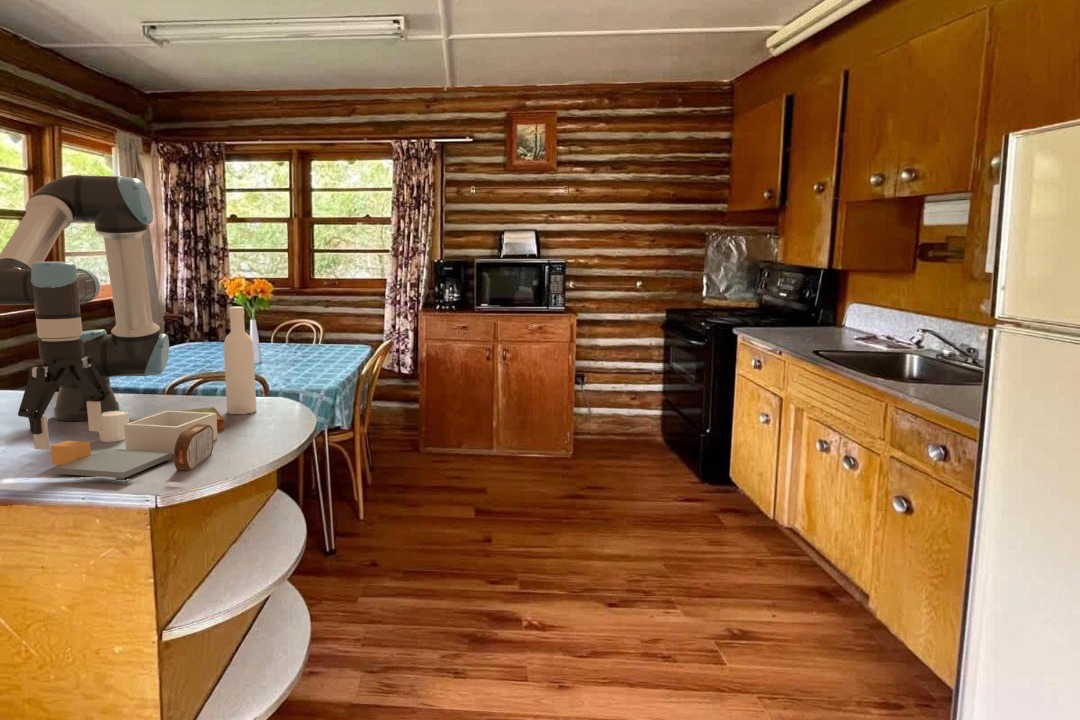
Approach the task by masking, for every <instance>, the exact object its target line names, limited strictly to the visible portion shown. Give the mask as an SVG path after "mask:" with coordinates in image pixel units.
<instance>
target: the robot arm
mask: <svg viewBox="0 0 1080 720" xmlns="http://www.w3.org/2000/svg"><path fill="white" fill-rule="evenodd" d="M153 221H154V208H153V202H152V198H151V196H150V193H149V190H148V189H147V187H146V185H145V184H144V182H142V181H141V179H138V178H135V177H127V176H122V175H121V176H120V175H119V176H118V175H117V176H115V175H112V176H111V175H81V174H72V175H71V174H70V175H66V176H65V175H64V176H62V177H58V178H55V179H53V180H52V181H50V182H48V183H45V184H44V185H42V186H41V187H40V188H38V189H36V190H35V192H34V193H33V194H31V196H30V197H29V199H28V200H27V202H26V203H25V215H24V216H23V217H22V219H21V221H20V222H19V224H18V226H17V227H16V229H15V230H14V231H13V233H12V234H11V236H10V238H9V240H8V241H7V242H6V243H5V245H4V247H3V248H2V250H1V252H0V306H22V305H23V306H28V305H31V306H32V305H33V306H34V313H35V315H34V317H35V322H36V323H35V324H36V333H37V337H38V338H39V339H40V340H39V341H37V343H38V344H37V345H38V354H39V358H40V359H42V361H43V365H42V366H30V367H29V368H28V380H27V382H26V386H25V390H24V393H23V396H22V399H21V402H20V405H19V409H18V412H17V415H18V417H23V418H28V421H29V427H30V429H29V430H30V434H31V435H32V436H33V437H32V438H33V445H34V446H33V447H34V450H44V451H47V450H51V445H50V438H49V437H50V436H49V426H48V417H47V416H44V414H45V412H46V410H47V408H48V406H49V404H50V403H51V401H52V399H53V397H54V395H55V393H56V391H57V390H58V389H59V391H58V394H57V398H56V403H55V407H54V408H53V419H54V420H57V421H64V422H81V421H87V422H88V423H87V424H88V431H89V432H98V433H99V432H100V431H103V426H102V413H103V412H107V411H121V410H120V404H119V402H118V401H117V399H116V396H115V394H114V391H113V388H112V387H111V381H110V380H111V378H115V377H116V378H117V377H119V378H120V377H121V378H122V377H151V376H159V375H161V374H163V373H164V371H165V369H166V367H167V364H168V359H169V354H170V339H169V336H168V334H167V333H164V332H163V333H161V328H160V326H159V324H157V323H155V322H154V320H153V314H152V307H151V306H152V305H151V299H150V291H149V283H148V274H147V269H146V268H147V267H146V259H145V252H144V245H143V238H142V237H143V235H144V234H145V233H147V231H148V225H150V224H152V223H153ZM73 223H92V224H93V223H94V229H95V232H96V233H98V234H99V235H100V236H101V237H102V238H103V242H104V249H105V257H106V262H107V269H108V274H109V281H110V289H111V294H112V295H111V296H112V303H113V309H114V314H115V322H116V325H115V326H113V328H112V329H111V331H110V333H111V334H108V332H107V331H106V329H103V328H102V329H92V330H91V329H90V330H83V324H82V315H81V305H85V304H87V303H89V302H91V301H93V300H94V299H96V298H97V296H98V295H99V294H100V291H101V284H100V281H99V279H98V277H97V276H96V275H95V274H94V273H93V272H92V271H90V270H87V269H83V268H77V267H76V264H75V263H74V262H71V261H45V260H46V259H47V257H48V255H49V253H50V252H51V250H52V248H53V246H54V244H55V243H56V242H57V239H58V237H59V235H60V234H61V232H62V231H64V230H65V229H68V228H69V227H70V225H72V224H73Z"/></svg>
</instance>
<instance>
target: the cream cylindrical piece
mask: <svg viewBox="0 0 1080 720" xmlns="http://www.w3.org/2000/svg"><path fill="white" fill-rule="evenodd" d="M127 423H130V412H129V411H128V410H120V411H107V412H103V413H102V426H103V431H100V432H99V431H98V435H99V440H100V442H105V443H108V442H109V443H112V442H119V441H125V430H124V424H127Z"/></svg>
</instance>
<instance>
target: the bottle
mask: <svg viewBox="0 0 1080 720" xmlns="http://www.w3.org/2000/svg"><path fill="white" fill-rule="evenodd" d="M228 313H229V318H230V319H229V320H230V324H229V325H230V332H229V333H228V334H227V335H226V336H225V338H224V342H223V360H224V364H223V365H224V376H225V377H224V380H225V397H226V398H225V401H226V404H225V406H226V412H227V414H229V415H232V414H242V415H248V414H247V413H250V414H253V413H252V412H254V413H255V412H257V396H256V395H257V394H256V375H255V372H256V371H255V354H254V342H253V339H252V336H250V334H248V333H247V332H246V330H245V310H244V307H243V306H230V307H229V312H228Z"/></svg>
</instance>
